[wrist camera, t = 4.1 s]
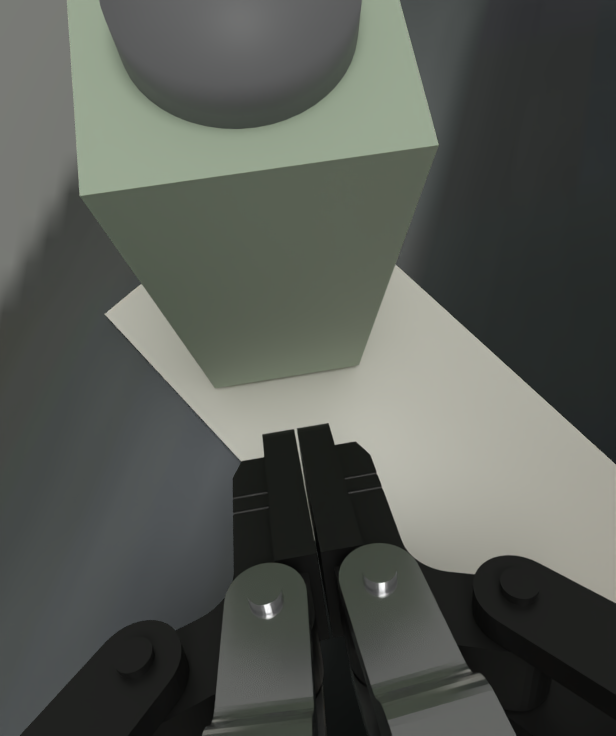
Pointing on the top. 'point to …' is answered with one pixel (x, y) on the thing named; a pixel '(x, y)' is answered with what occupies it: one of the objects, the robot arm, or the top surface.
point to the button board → (425, 437)
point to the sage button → (253, 167)
